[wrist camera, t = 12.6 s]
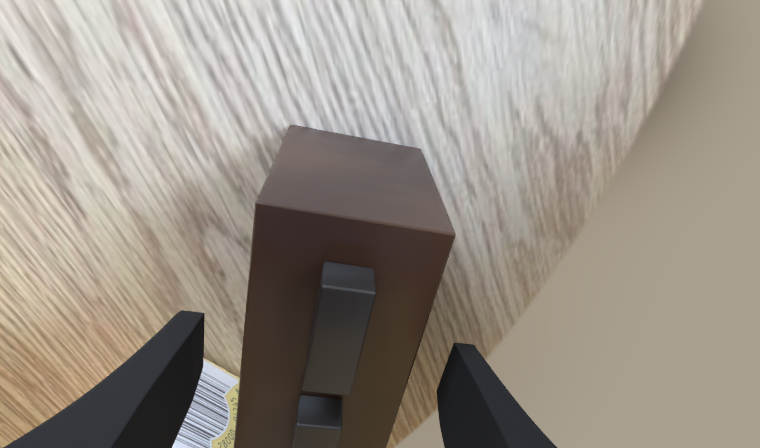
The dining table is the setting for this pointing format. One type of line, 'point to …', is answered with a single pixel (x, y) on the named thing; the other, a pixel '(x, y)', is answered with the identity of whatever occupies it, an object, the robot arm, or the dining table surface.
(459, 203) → the dining table surface
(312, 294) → the knife block
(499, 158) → the dining table surface
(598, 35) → the dining table surface
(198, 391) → the candy box
